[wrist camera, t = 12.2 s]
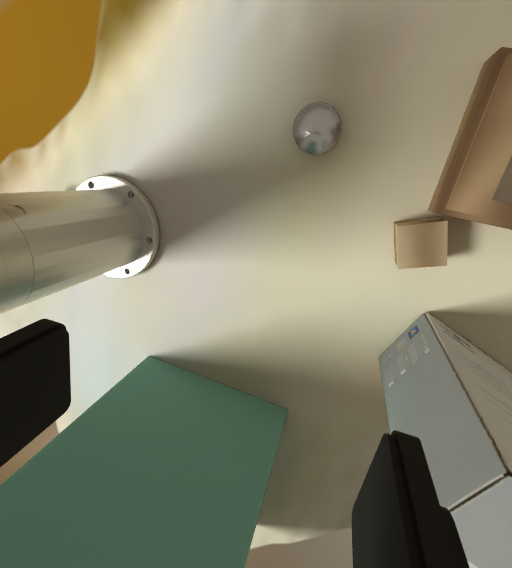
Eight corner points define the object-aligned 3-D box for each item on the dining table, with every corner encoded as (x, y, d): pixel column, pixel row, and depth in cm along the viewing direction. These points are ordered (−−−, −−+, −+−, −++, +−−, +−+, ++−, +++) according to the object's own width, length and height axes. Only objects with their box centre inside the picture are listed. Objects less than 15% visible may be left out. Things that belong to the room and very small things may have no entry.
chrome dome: (290, 149, 33) (288, 147, 31) (302, 100, 31) (300, 97, 30) (332, 159, 32) (332, 158, 31) (347, 110, 30) (347, 107, 29)
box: (250, 523, 50) (159, 832, 27) (135, 469, 54) (-35, 698, 30) (288, 409, 42) (203, 713, 18) (148, 355, 46) (-73, 548, 22)
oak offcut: (394, 261, 33) (398, 268, 30) (393, 222, 32) (397, 226, 29) (438, 257, 32) (447, 265, 29) (439, 216, 31) (447, 220, 28)
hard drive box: (375, 357, 36) (398, 537, 18) (424, 309, 33) (511, 466, 15) (491, 441, 36) (637, 717, 17) (553, 399, 33) (808, 680, 14)
